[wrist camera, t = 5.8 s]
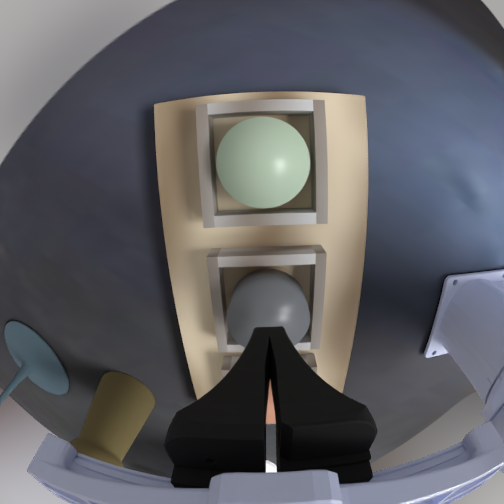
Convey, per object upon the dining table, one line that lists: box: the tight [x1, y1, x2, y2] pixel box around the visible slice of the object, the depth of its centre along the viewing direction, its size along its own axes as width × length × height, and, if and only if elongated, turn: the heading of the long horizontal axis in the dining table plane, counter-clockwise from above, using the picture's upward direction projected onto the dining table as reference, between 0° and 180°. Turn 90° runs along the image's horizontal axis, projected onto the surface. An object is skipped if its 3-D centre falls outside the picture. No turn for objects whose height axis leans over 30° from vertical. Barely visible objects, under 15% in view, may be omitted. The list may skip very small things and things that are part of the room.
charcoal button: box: [227, 269, 310, 348], centre depth 15 cm, size 4×4×2 cm
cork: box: [70, 372, 155, 468], centre depth 18 cm, size 6×6×11 cm
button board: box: [154, 92, 368, 424], centre depth 17 cm, size 12×24×3 cm, turn 3°
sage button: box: [216, 117, 310, 208], centre depth 13 cm, size 4×4×2 cm
